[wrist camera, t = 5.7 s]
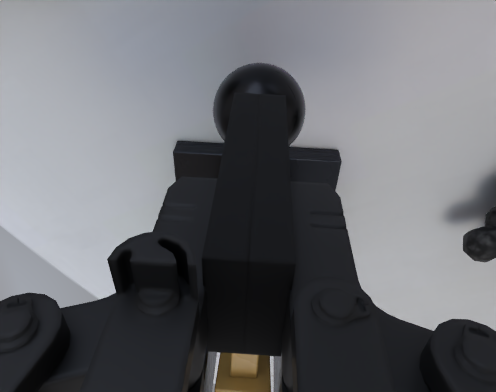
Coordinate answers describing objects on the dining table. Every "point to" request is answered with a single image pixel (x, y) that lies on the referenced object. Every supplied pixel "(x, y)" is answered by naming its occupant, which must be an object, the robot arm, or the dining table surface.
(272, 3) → the dining table surface
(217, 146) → the lever stand
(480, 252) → the fruit
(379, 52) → the dining table surface
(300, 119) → the tap lever
